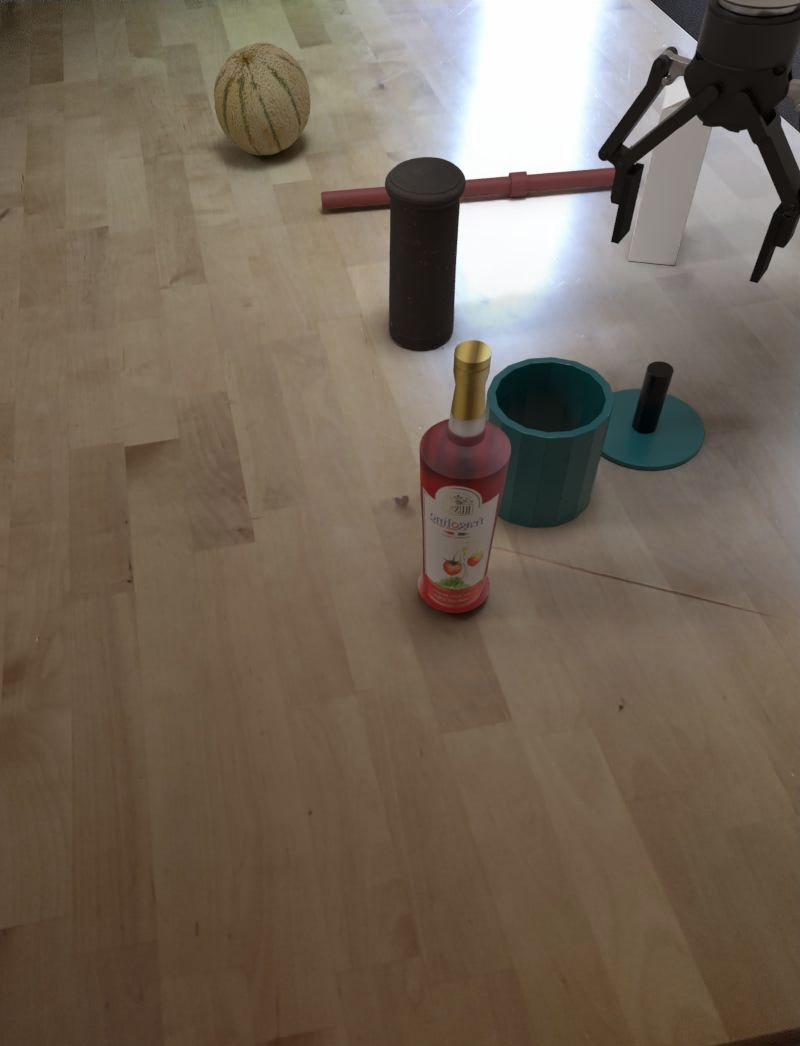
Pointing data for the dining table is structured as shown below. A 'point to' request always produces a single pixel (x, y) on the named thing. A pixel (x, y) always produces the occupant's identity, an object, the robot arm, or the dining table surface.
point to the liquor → (461, 489)
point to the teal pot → (549, 437)
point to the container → (423, 250)
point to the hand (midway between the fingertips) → (687, 255)
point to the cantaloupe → (262, 99)
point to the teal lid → (652, 425)
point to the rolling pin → (484, 187)
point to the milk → (669, 185)
